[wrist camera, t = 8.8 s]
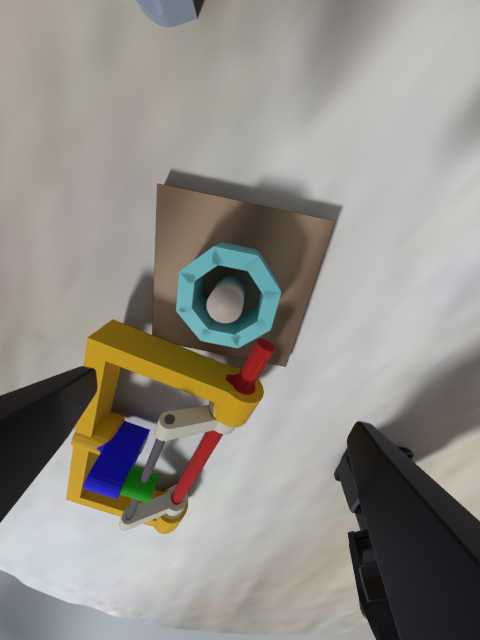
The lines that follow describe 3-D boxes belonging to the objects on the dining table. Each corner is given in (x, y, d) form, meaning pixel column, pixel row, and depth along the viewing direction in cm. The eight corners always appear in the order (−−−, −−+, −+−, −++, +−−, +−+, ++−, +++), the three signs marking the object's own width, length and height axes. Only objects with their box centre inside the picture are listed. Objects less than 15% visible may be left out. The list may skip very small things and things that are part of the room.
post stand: (330, 221, 16) (360, 221, 11) (284, 360, 21) (292, 399, 16) (163, 185, 16) (124, 170, 11) (156, 334, 20) (128, 367, 16)
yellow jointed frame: (296, 398, 13) (165, 570, 26) (285, 341, 18) (182, 506, 31) (-35, 265, 11) (2, 523, 24) (65, 247, 17) (51, 463, 29)
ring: (283, 254, 16) (289, 262, 13) (262, 332, 19) (264, 353, 16) (195, 236, 16) (181, 239, 13) (187, 317, 18) (174, 335, 16)
